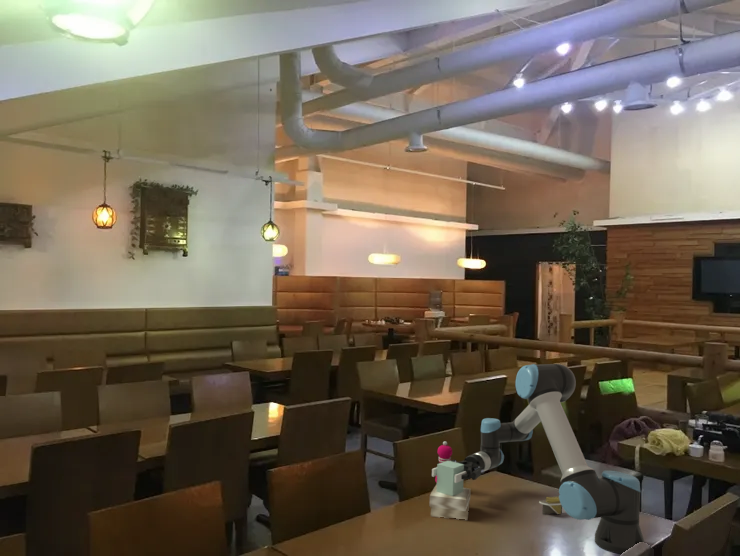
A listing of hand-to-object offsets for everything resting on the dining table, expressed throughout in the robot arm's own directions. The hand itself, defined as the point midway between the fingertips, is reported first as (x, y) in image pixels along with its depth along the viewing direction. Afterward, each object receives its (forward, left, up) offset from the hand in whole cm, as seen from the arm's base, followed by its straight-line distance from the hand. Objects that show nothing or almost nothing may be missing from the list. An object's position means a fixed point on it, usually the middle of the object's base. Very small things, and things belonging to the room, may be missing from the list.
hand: (443, 475), depth 228 cm
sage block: (-2, -4, -7) cm, 8 cm away
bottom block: (-2, -4, -15) cm, 16 cm away
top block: (-2, -4, -11) cm, 12 cm away
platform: (-40, -12, -15) cm, 44 cm away
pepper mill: (+2, -27, -14) cm, 31 cm away
